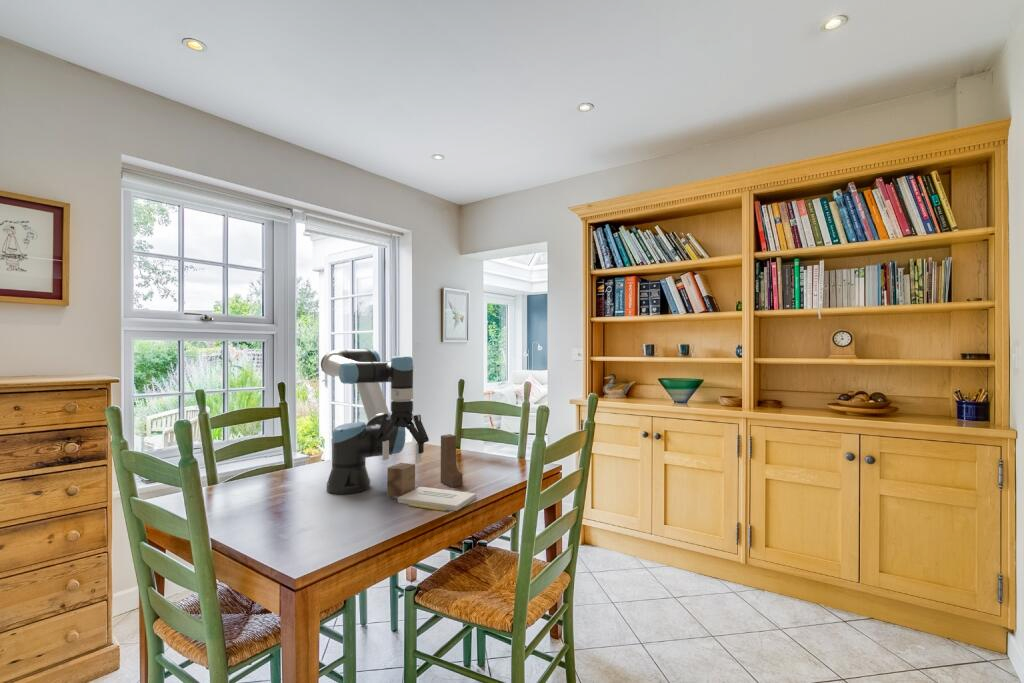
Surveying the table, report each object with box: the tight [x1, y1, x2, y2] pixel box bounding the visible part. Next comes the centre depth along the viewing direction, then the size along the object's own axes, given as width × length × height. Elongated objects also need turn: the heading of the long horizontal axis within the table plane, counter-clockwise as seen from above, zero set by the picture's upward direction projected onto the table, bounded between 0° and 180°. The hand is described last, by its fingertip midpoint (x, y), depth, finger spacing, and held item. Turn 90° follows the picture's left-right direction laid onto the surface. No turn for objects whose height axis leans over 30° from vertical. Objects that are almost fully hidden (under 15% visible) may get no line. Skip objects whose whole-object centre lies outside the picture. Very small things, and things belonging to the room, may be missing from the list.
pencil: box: [408, 504, 450, 512], centre depth 156 cm, size 14×1×1 cm, turn 69°
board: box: [397, 486, 477, 512], centre depth 165 cm, size 22×14×2 cm, turn 69°
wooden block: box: [440, 433, 463, 488], centre depth 184 cm, size 9×4×18 cm, turn 38°
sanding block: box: [386, 462, 416, 499], centre depth 171 cm, size 6×8×10 cm
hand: (401, 461), depth 171 cm, fingers open, 13 cm apart
